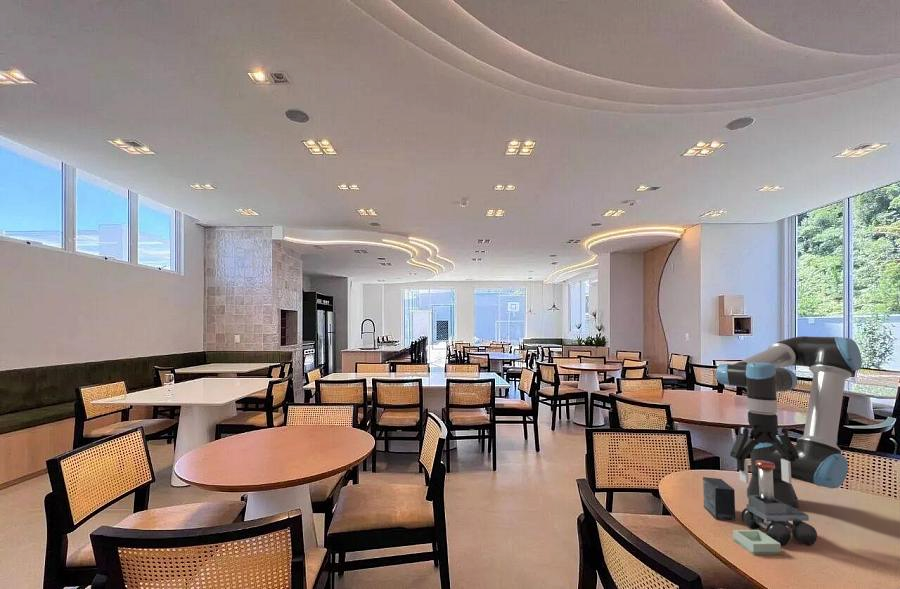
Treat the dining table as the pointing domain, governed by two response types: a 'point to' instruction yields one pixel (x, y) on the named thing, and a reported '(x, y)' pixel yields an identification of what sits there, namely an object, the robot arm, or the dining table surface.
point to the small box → (719, 499)
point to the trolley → (778, 521)
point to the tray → (757, 542)
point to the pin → (765, 480)
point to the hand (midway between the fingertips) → (765, 481)
